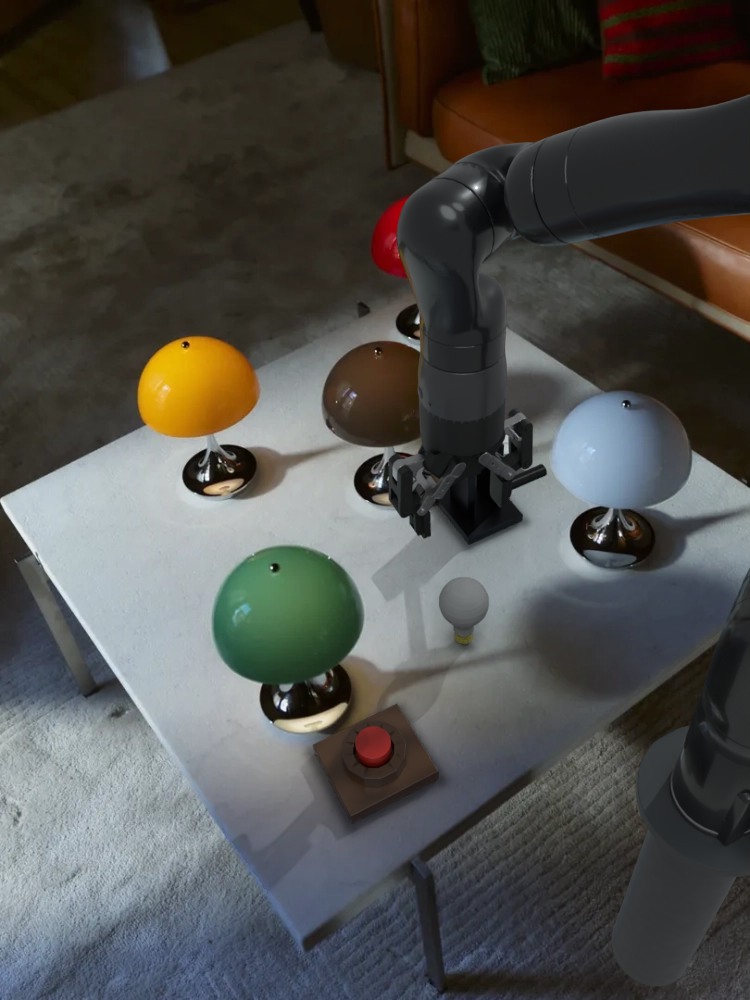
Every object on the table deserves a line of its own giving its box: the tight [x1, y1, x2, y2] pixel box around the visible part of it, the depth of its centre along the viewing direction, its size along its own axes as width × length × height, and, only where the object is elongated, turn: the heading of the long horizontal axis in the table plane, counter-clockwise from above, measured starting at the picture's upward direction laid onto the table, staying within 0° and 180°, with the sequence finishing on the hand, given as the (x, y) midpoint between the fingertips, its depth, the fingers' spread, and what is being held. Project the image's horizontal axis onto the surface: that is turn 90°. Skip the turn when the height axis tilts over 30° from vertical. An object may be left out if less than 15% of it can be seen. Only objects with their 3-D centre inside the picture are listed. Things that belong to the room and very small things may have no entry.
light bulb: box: [438, 576, 490, 645], centre depth 105 cm, size 6×6×10 cm
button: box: [355, 726, 392, 767], centre depth 96 cm, size 4×4×2 cm
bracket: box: [434, 443, 524, 545], centre depth 118 cm, size 10×8×12 cm
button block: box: [312, 703, 440, 824], centre depth 97 cm, size 9×10×4 cm
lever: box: [512, 463, 548, 491], centre depth 111 cm, size 13×5×2 cm, turn 27°
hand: (461, 516), depth 93 cm, fingers open, 8 cm apart
